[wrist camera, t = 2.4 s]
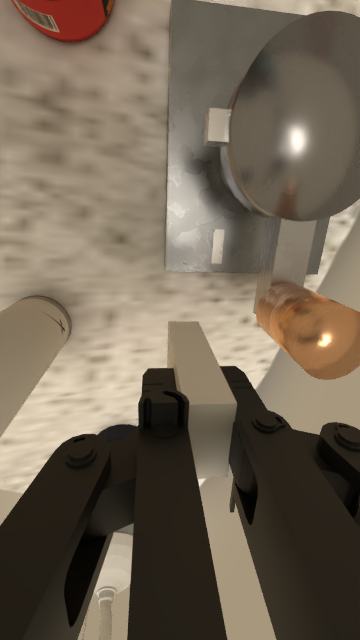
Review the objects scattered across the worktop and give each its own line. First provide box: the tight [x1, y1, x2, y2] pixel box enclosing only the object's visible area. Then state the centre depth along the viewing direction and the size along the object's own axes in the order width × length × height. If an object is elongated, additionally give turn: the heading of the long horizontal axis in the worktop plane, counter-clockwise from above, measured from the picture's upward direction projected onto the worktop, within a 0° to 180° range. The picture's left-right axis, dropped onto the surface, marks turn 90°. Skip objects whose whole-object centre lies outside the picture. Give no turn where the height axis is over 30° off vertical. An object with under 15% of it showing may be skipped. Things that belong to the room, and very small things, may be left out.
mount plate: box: [165, 0, 330, 274], centre depth 22 cm, size 20×16×8 cm
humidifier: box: [82, 425, 137, 640], centre depth 24 cm, size 8×8×25 cm
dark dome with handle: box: [204, 11, 360, 380], centre depth 15 cm, size 18×12×9 cm
